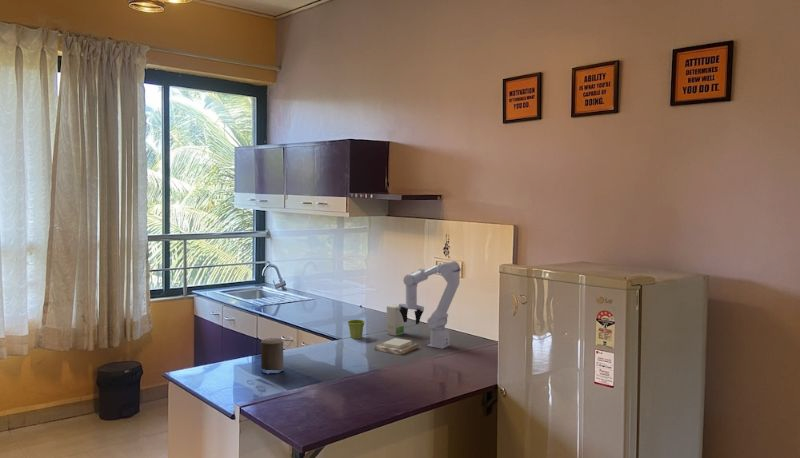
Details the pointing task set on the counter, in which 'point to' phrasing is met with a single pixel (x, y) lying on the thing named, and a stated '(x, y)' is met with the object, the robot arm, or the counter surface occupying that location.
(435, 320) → the robot arm
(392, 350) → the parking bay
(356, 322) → the plant pot
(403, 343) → the cream tile slab
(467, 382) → the counter surface
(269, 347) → the pillar candle
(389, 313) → the skincare box
